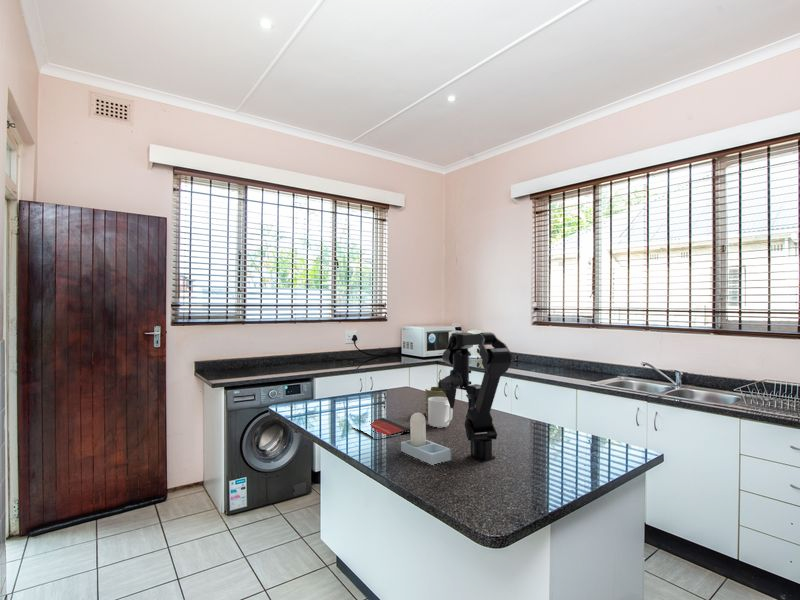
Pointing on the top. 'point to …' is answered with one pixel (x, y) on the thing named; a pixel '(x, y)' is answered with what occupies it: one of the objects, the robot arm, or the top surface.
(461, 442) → the top surface
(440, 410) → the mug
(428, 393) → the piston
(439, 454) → the divided tray
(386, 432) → the binder
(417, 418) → the cream rounded cylinder
